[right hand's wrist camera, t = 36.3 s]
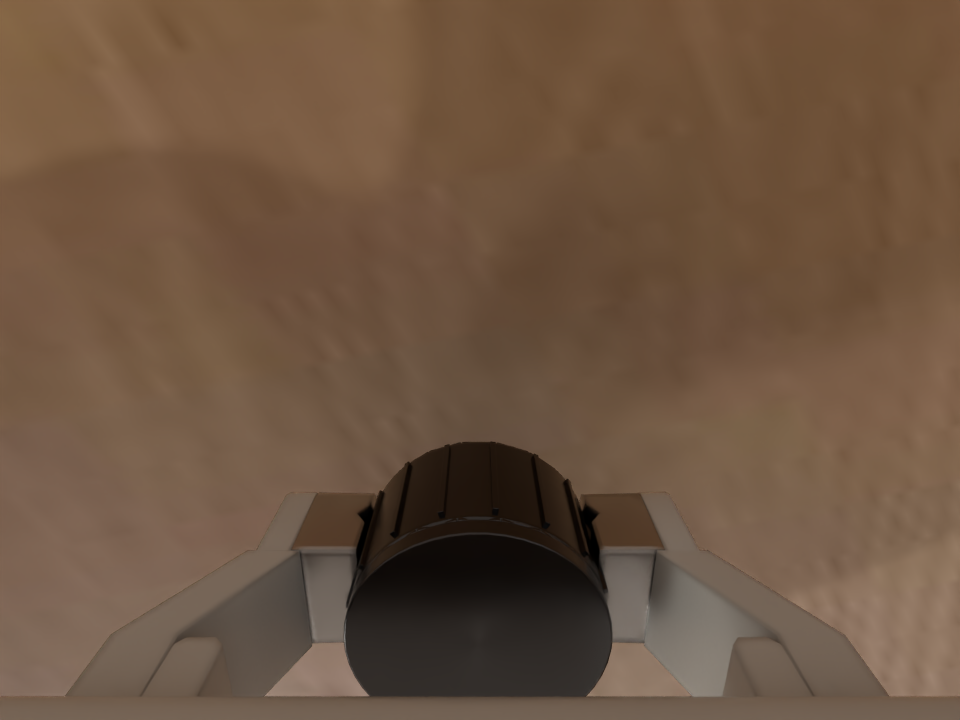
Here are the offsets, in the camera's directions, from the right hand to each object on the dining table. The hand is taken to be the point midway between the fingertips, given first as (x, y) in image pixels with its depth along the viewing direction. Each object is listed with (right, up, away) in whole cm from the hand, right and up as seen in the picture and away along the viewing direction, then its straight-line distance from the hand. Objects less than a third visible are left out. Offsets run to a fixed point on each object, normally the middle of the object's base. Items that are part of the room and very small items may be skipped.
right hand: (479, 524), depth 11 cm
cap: (0, -1, -2) cm, 2 cm away
